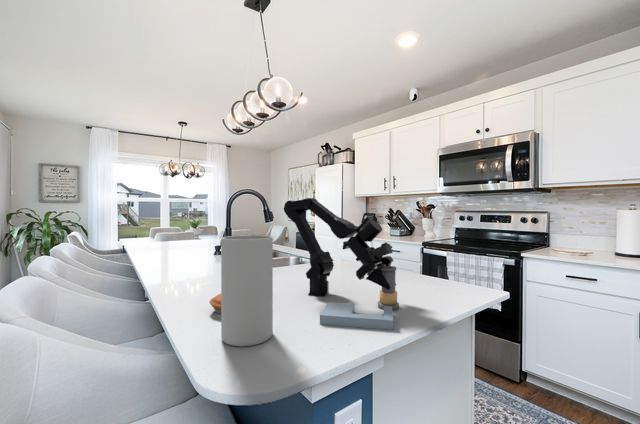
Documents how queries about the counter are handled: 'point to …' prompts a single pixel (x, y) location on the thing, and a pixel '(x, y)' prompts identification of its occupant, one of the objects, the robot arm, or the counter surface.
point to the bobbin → (389, 295)
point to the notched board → (355, 317)
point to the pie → (216, 303)
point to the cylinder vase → (246, 289)
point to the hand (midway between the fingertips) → (392, 287)
